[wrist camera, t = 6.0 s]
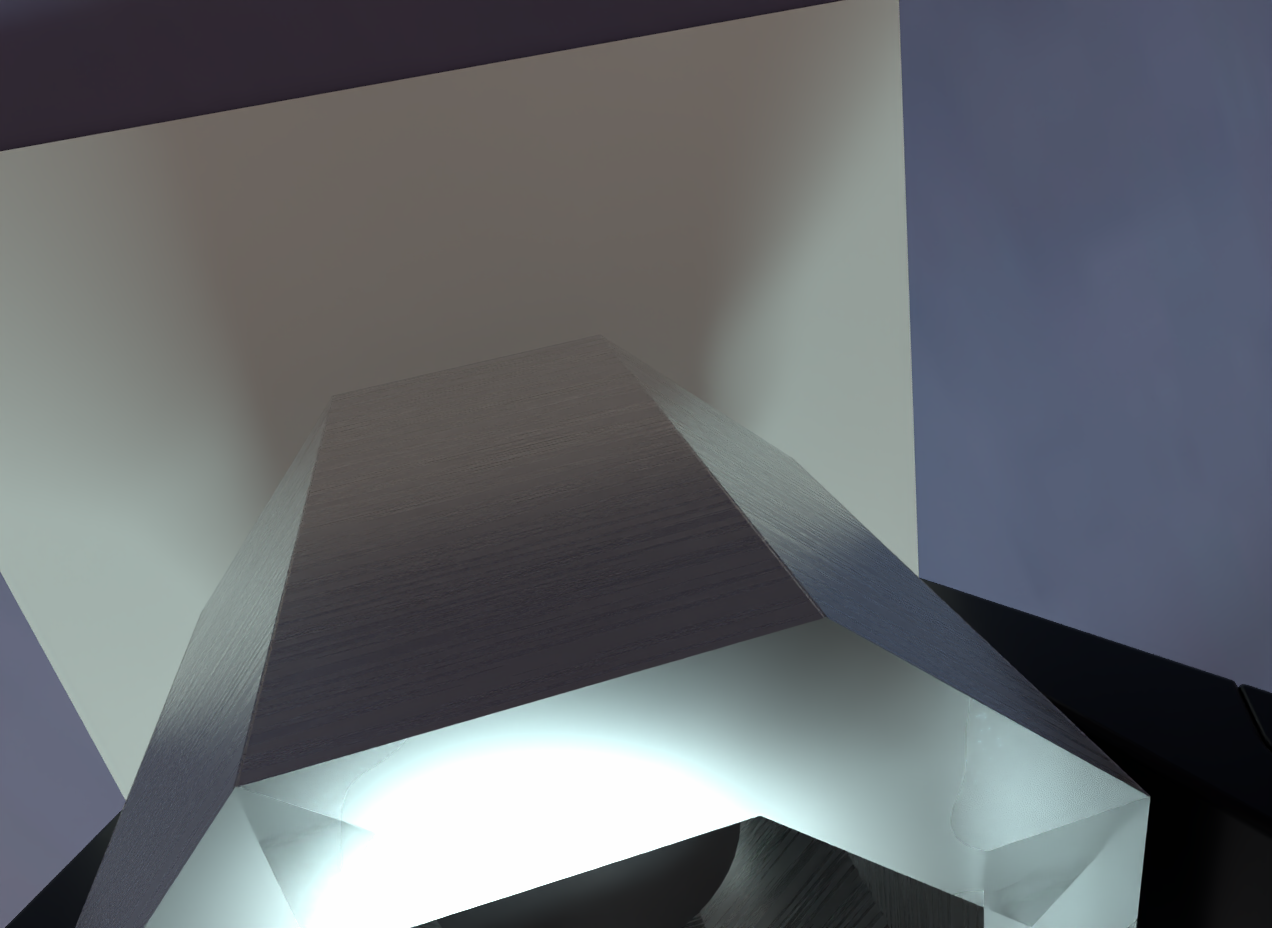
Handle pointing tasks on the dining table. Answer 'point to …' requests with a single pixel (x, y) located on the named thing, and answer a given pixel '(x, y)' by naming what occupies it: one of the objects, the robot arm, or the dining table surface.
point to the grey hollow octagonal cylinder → (595, 686)
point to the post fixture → (442, 320)
